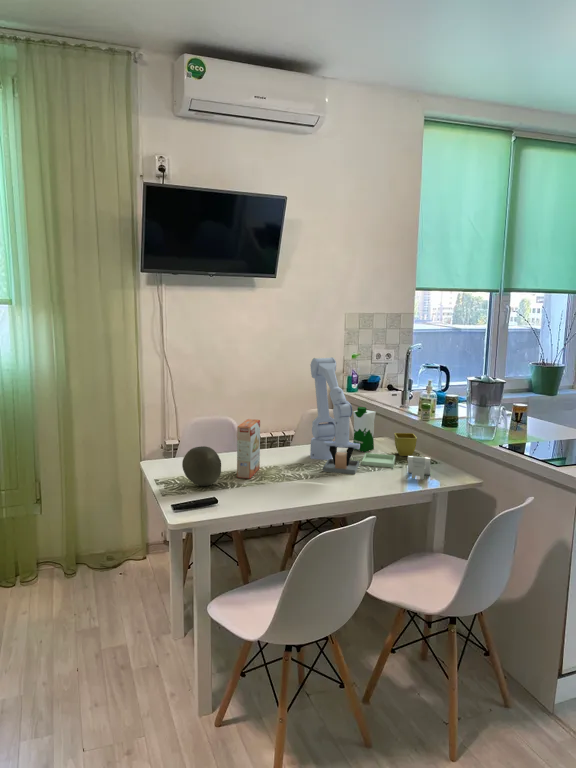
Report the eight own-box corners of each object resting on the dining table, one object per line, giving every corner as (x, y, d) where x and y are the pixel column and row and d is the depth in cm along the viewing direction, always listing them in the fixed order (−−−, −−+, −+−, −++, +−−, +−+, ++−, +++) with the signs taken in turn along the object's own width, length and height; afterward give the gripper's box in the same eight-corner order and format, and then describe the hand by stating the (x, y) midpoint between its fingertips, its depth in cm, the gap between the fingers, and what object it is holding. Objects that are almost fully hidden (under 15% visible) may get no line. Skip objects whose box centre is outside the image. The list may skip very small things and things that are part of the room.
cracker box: (251, 479, 224) (251, 426, 220) (236, 478, 225) (236, 426, 222) (260, 468, 237) (260, 419, 234) (246, 467, 239) (246, 418, 235)
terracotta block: (335, 469, 235) (335, 454, 234) (336, 465, 240) (337, 452, 239) (346, 470, 234) (346, 455, 233) (347, 466, 238) (348, 452, 237)
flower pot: (416, 457, 254) (417, 438, 253) (396, 457, 254) (397, 437, 253) (412, 452, 263) (413, 433, 262) (393, 452, 263) (394, 432, 262)
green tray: (361, 466, 241) (361, 461, 241) (365, 457, 254) (365, 452, 253) (393, 468, 238) (393, 463, 238) (395, 460, 251) (395, 455, 250)
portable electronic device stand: (430, 474, 232) (431, 454, 230) (428, 480, 224) (429, 459, 223) (408, 472, 234) (409, 452, 233) (406, 478, 227) (407, 457, 226)
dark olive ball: (201, 477, 226) (201, 440, 223) (229, 484, 218) (228, 446, 215) (175, 487, 214) (174, 448, 212) (203, 495, 206) (202, 454, 204)
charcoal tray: (322, 472, 232) (322, 467, 232) (328, 463, 245) (328, 458, 244) (354, 475, 229) (355, 470, 229) (359, 466, 242) (359, 461, 241)
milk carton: (350, 449, 267) (351, 407, 264) (361, 445, 273) (362, 404, 270) (365, 453, 261) (366, 409, 258) (377, 449, 268) (378, 407, 264)
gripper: (322, 433, 232) (322, 466, 235) (358, 436, 229) (357, 469, 231) (326, 429, 239) (325, 461, 241) (360, 431, 236) (360, 463, 238)
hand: (341, 464), depth 237 cm, fingers closed on terracotta block, 4 cm apart
